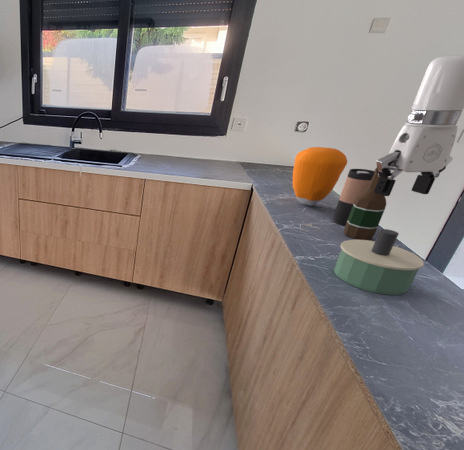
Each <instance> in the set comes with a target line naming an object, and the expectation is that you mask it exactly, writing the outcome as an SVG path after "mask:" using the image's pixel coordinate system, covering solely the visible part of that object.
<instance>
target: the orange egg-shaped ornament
mask: <svg viewBox="0 0 464 450" xmlns="http://www.w3.org/2000/svg"><path fill="white" fill-rule="evenodd" d="M347 164H348V157H347V156H346V155H345V154H344V153H343V152H342V151H341V150H340V149H337V148H333V147H324V146H312V147H307V148H305V149H303V150H301V151H299V152H298V153H297V154H296V155H295V158H294V163H293V169H292V189H293V191H294V194H295V198H296V199H297V201H298V203H300V204H303V205H306V206H309V207H311V206H312V207H313V206H315V205H317V204H318V203H319V202H320V201H322V200H324V199H325V198H326V197H327V196H328V195H329V194H330V193H331V192H332V191H333V189H334V188H335V186H336V184H337V183H338V181H339V180H340V176H341V175H342V173H343V172H344V170H345V168H346V167H347Z"/></svg>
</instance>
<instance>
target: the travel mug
mask: <svg viewBox="0 0 464 450" xmlns="http://www.w3.org/2000/svg"><path fill="white" fill-rule="evenodd" d="M374 173H375V170H372V169H366V168H349V170H348V173H347V176H346V179H345V182H344V184H343V188H342V190H341V193H340V196H339V198H338V202H337V205H336V207H335V208H336V209H335V211H334V214H333V218H332V222H333V223H334V224H337V225H341V226H344V227H345V226H346V223H347V220H348V217H349V215H350V212H351V209H352V207H353V204H354V202H355V200H356V198H357V197H358V196H359V195H360V194H362V193H363V192H365V191H366V189H367V188H368V186H369V184H370V182H371V180H372V178H373V176H374Z"/></svg>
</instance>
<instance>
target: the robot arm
mask: <svg viewBox="0 0 464 450" xmlns="http://www.w3.org/2000/svg"><path fill="white" fill-rule="evenodd" d="M463 111H464V54H453V55H444V56H438V57H436V58H434V59H432V60H431V61H430V63H429V64H428V66H427V68H426V70H425V73H424V75H423V78H422V80H421V83H420V86H419V88H418V90H417V93H416V96H415V98H414V100H413V103H412V106H411V109H410V111H409V113H408V116H407V119H406V121H405V123H404V125H403V126H402V128H401V129H400V131H399V132H398V134H397V136H396V138H395V140H394V141H393V144H392V146H391V148H390V150H389V153H388V154H386V155H385V156H383V157H380V158H379V159H377V160H376V163H375V164H376V168H377V170H376V171H377V172H378V177H380V178H379V180H378V183H377V185H376V188H375V190H374V193H377V194H380V195H383V196H385V197H389V196H390V195H391V193H392V191H393V188H394V186H395V184H396V181H397V180H396V177H397V176H399V175H400V174H401V173H403V172H405V173H420V174H417V176H416V179H415V181H414V183H413V186H412V188H411V191H412V192H413V193H417V194H422V195H428V194H429V193H430V191H431V189H432V187H433V184H434V183H435V180H436V179H437V178H439V177H440V175H441V173H442V172H443V171H445V170H446V169H447V166H448V165H449V164H450V163H452V161H453V157H452V156H451V152H452V150H453V147H454V144H455V141H456V137H457V133H458V125H457V123H458V122H459V120H460V118H461V116H462V113H463ZM390 171H391V172H390Z"/></svg>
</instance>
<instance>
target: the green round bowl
mask: <svg viewBox="0 0 464 450" xmlns="http://www.w3.org/2000/svg"><path fill="white" fill-rule="evenodd" d="M419 270H420V269H417V270H396V269H390V268H385V267H380V266H376V265H373V264H369V263H366V262H363V261H361V260H358V259H356V258H354V257H352V256H350V255H348V254H347V253H345V252H344V251H343V250H342V249H341V250H340V253H339V256H338V258H337V261H336V263H335V266H334V269H333V272H334V274H335V275H336V276H337V277H338V278H339V279H340V280H342V281H344V282H345V283H347V284H349V285H351V286H353V287H355V288H358V289H361V290H364V291H367V292H371V293H375V294H381V295H386V296H400V295H405V294H406V293H407V292H408V291H409V290H410V288H411V286H412V284H413V282H414V279H415V278H416V276H417V274H418V272H419Z"/></svg>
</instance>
